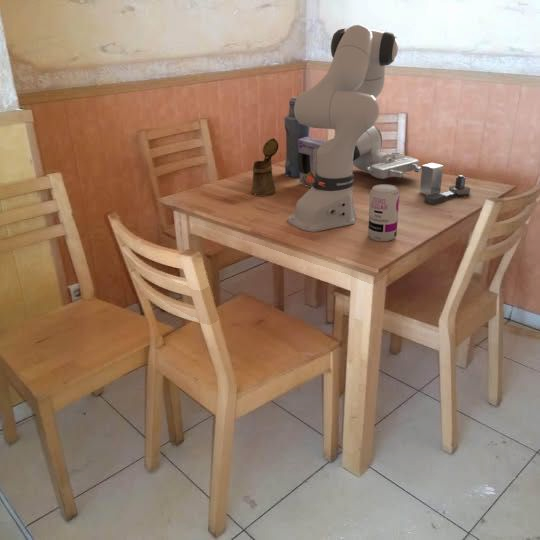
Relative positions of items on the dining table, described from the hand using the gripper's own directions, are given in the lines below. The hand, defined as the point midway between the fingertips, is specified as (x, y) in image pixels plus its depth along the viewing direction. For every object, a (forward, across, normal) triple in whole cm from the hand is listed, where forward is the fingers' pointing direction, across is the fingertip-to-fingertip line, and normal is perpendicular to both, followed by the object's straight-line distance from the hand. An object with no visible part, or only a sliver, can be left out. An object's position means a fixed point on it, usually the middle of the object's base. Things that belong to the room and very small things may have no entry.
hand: (410, 172), depth 203 cm
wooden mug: (-31, -43, +6) cm, 53 cm away
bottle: (-40, -22, +6) cm, 46 cm away
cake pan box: (-21, -27, +6) cm, 34 cm away
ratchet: (+16, +1, +5) cm, 17 cm away
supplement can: (+27, -41, +6) cm, 50 cm away
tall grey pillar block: (+10, 0, +5) cm, 11 cm away
